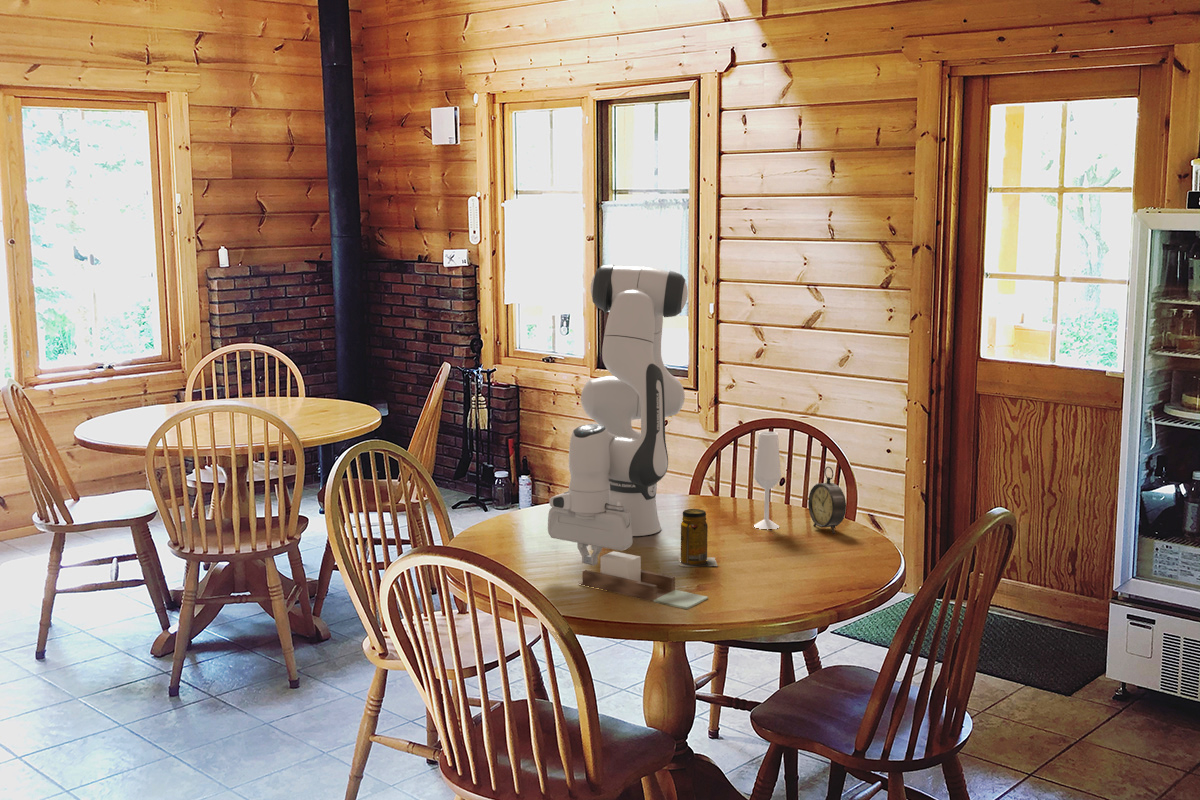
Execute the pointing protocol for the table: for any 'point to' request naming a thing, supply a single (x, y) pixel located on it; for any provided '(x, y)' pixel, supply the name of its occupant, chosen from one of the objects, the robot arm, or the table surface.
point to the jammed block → (621, 565)
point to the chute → (644, 588)
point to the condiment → (694, 540)
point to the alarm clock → (827, 504)
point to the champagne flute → (767, 471)
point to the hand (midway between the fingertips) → (589, 563)
